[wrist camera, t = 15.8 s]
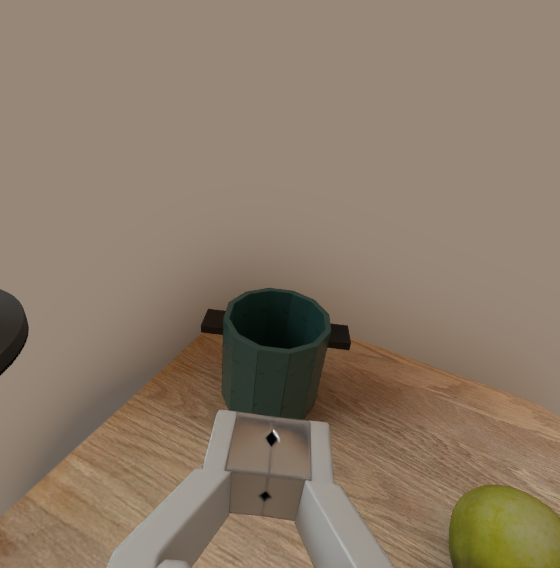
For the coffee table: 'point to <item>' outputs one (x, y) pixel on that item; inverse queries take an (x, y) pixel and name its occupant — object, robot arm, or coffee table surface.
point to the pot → (273, 351)
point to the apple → (503, 530)
